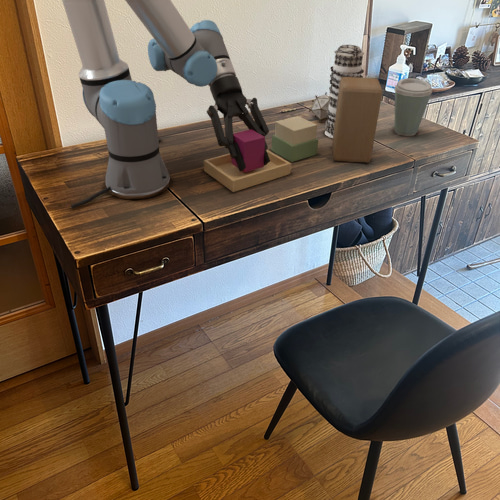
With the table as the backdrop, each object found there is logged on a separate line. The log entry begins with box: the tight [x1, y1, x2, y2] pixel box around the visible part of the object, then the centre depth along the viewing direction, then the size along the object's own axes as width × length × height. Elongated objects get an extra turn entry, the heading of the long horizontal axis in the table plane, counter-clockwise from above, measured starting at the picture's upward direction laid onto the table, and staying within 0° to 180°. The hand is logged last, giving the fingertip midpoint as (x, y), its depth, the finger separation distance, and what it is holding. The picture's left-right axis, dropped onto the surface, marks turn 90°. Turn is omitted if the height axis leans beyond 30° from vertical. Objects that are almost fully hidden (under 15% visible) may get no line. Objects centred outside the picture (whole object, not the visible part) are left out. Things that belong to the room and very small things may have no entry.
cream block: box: [274, 115, 318, 145], centre depth 132 cm, size 8×8×4 cm
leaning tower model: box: [324, 44, 365, 139], centre depth 140 cm, size 9×9×25 cm
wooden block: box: [331, 77, 383, 164], centre depth 129 cm, size 10×10×20 cm
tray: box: [203, 149, 292, 193], centre depth 124 cm, size 18×14×3 cm
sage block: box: [270, 134, 319, 163], centre depth 134 cm, size 9×9×4 cm
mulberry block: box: [232, 129, 266, 172], centre depth 121 cm, size 6×6×8 cm
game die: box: [308, 91, 331, 123], centre depth 154 cm, size 9×8×10 cm
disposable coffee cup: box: [393, 77, 433, 137], centre depth 145 cm, size 11×11×15 cm
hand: (254, 166), depth 120 cm, fingers closed on mulberry block, 6 cm apart
